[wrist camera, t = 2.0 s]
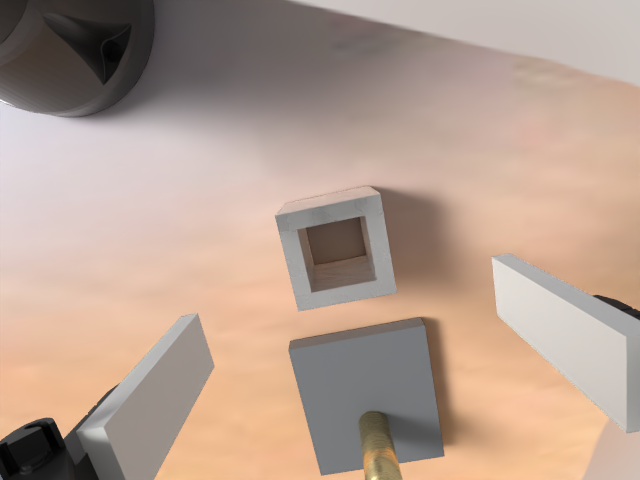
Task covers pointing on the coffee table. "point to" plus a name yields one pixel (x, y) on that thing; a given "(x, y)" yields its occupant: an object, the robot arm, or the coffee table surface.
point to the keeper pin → (378, 447)
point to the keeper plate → (368, 391)
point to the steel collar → (345, 275)
